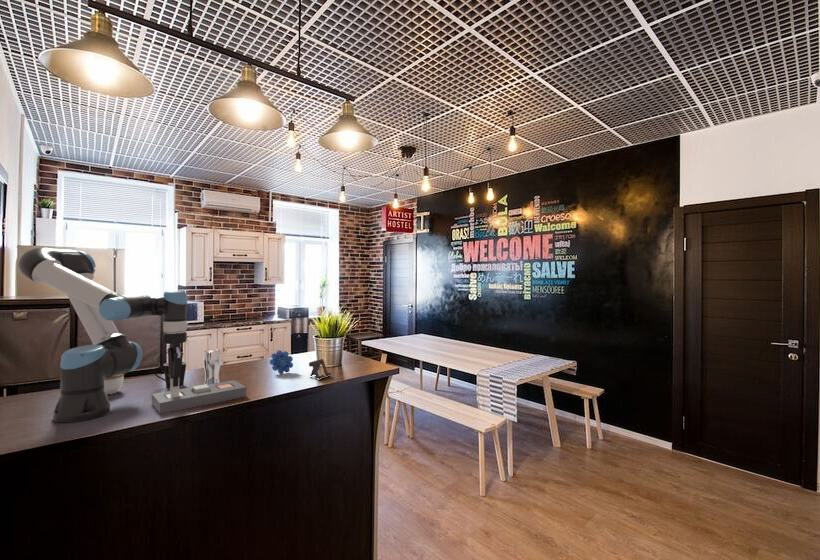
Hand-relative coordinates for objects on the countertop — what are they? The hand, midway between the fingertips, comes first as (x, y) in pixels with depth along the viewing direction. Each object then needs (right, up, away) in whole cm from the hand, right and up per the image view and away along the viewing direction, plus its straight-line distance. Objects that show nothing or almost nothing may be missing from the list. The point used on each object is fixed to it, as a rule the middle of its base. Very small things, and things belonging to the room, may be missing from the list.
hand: (174, 394), depth 143 cm
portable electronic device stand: (+44, -5, +43) cm, 62 cm away
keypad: (+6, -4, +6) cm, 10 cm away
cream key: (0, -3, 0) cm, 3 cm away
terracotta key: (+13, -3, +13) cm, 18 cm away
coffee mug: (-17, -4, +25) cm, 30 cm away
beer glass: (-1, -4, +29) cm, 30 cm away
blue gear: (+24, -5, +49) cm, 54 cm away
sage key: (+6, -2, +6) cm, 9 cm away
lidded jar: (-36, -4, +14) cm, 39 cm away
